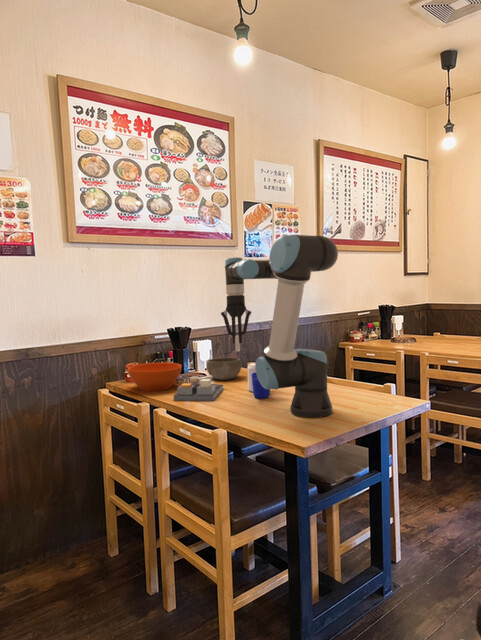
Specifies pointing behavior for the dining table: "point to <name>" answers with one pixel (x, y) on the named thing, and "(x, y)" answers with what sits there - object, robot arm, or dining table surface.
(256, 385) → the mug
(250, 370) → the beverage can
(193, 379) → the slider knob
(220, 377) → the bowl
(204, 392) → the panel
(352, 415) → the dining table surface
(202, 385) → the button ivory
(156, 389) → the bowl
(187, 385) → the button orange
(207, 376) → the rocker
